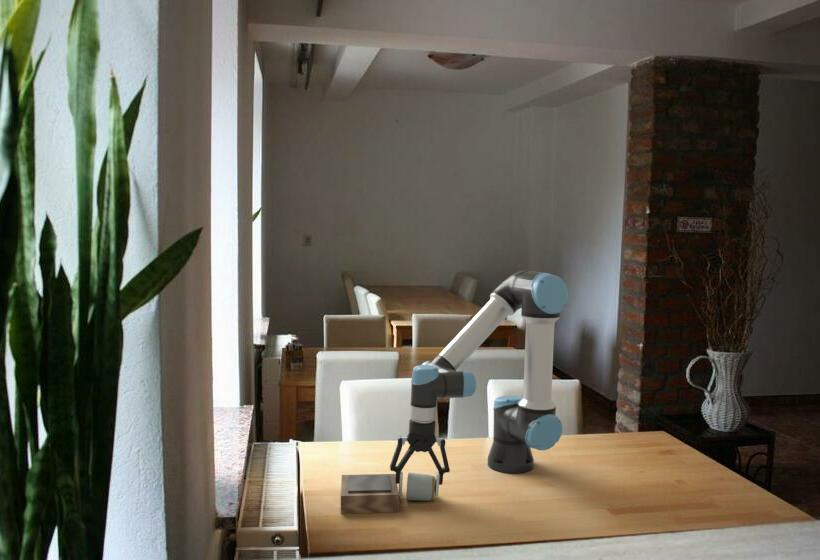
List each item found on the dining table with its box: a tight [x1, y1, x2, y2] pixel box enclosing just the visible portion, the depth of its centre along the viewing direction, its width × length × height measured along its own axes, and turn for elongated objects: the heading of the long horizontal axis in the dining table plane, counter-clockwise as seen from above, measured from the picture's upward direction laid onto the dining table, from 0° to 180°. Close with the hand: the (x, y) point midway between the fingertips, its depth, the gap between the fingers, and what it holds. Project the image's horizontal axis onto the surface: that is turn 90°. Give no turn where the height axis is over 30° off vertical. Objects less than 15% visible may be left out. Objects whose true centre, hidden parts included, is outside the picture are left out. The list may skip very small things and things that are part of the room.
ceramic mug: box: [405, 472, 436, 502], centre depth 212 cm, size 11×8×8 cm
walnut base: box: [340, 473, 400, 514], centre depth 209 cm, size 16×16×6 cm
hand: (418, 494), depth 211 cm, fingers open, 10 cm apart
